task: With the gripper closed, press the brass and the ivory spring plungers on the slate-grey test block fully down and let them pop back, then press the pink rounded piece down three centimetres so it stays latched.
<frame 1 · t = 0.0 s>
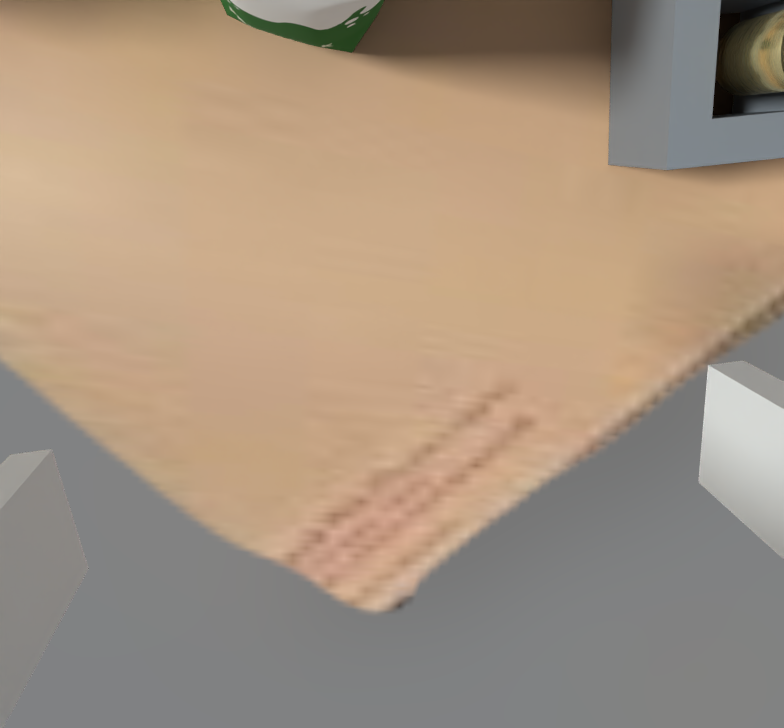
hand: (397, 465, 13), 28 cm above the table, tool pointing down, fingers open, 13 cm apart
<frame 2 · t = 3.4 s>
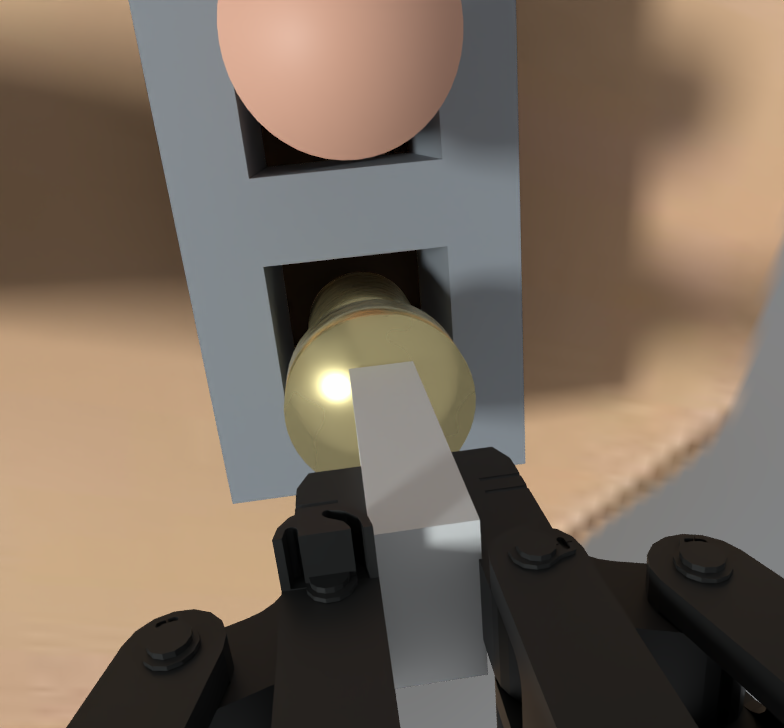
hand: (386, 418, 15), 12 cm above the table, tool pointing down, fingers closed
brass plunger: (369, 357, 19), point 8 cm above the table, slide at 0.5 cm, touching gripper
test block: (329, 81, 24), on the table
pink rounded piece: (336, 54, 15), point 9 cm above the table, slide at 0.0 cm
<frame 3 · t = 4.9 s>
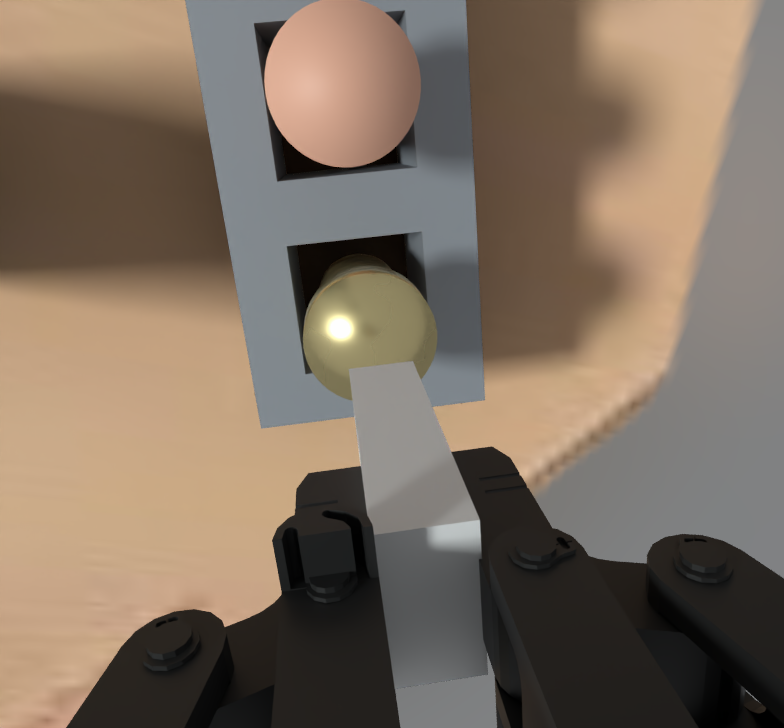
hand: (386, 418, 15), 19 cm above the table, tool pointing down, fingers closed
brass plunger: (364, 313, 25), point 8 cm above the table, slide at 0.4 cm
test block: (335, 108, 31), on the table
pink rounded piece: (340, 94, 22), point 9 cm above the table, slide at 0.0 cm
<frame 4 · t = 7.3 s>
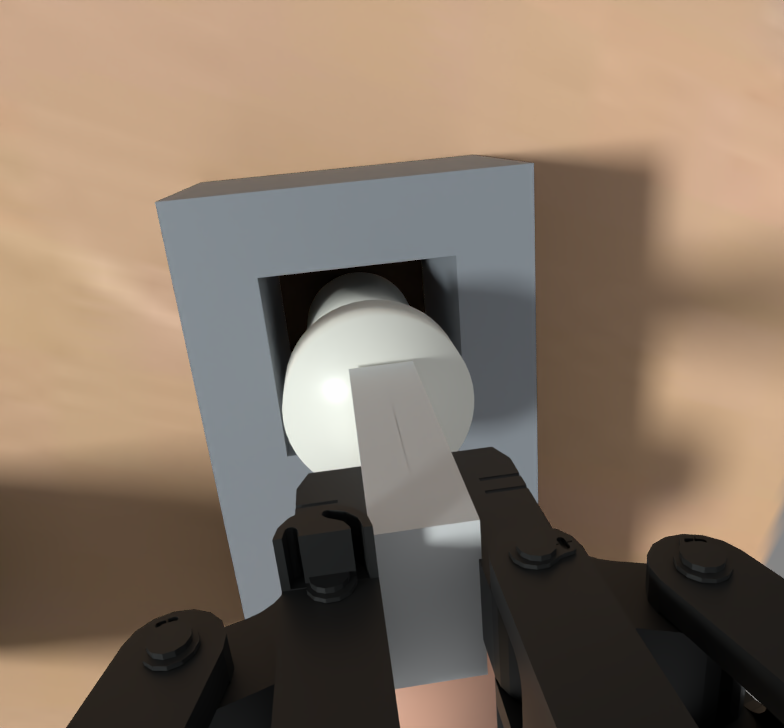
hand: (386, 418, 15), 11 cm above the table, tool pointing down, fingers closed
test block: (374, 478, 28), on the table
pink rounded piece: (400, 624, 20), point 9 cm above the table, slide at 0.0 cm
ivory plunger: (367, 358, 19), point 7 cm above the table, slide at 2.0 cm, touching gripper
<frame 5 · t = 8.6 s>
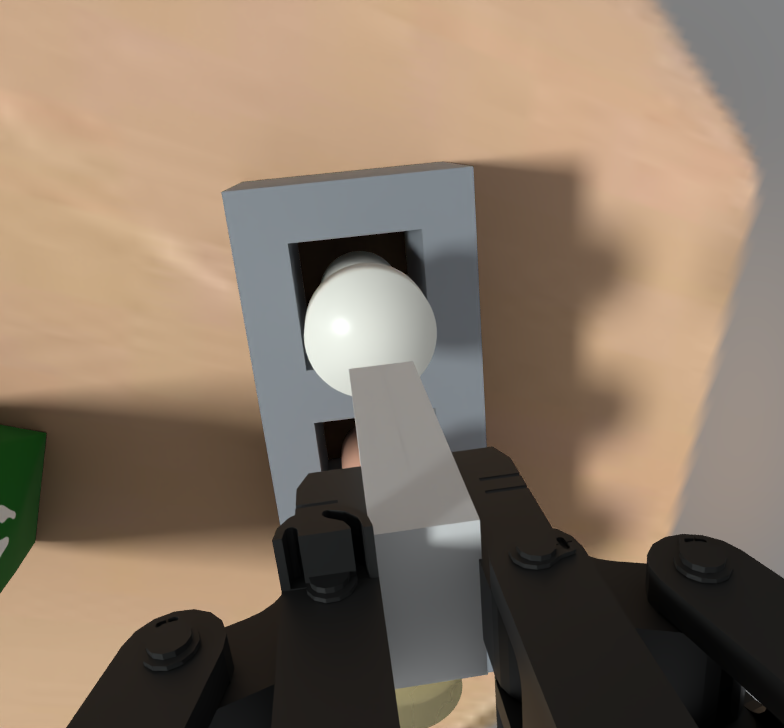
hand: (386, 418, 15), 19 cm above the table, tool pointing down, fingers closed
brass plunger: (399, 630, 31), point 8 cm above the table, slide at 0.4 cm
test block: (370, 410, 36), on the table
pink rounded piece: (384, 489, 28), point 9 cm above the table, slide at 0.0 cm
ivory plunger: (364, 310, 25), point 8 cm above the table, slide at 0.4 cm
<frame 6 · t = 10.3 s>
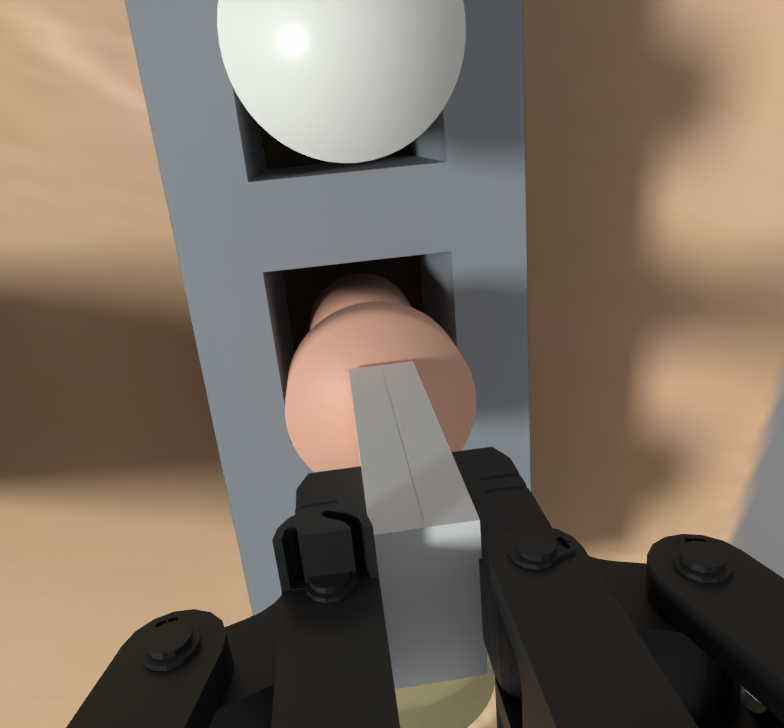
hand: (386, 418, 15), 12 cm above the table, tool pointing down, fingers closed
brass plunger: (396, 596, 21), point 8 cm above the table, slide at 0.4 cm
test block: (355, 296, 26), on the table
pink rounded piece: (370, 359, 19), point 8 cm above the table, slide at 1.1 cm, touching gripper
ivory plunger: (338, 56, 15), point 8 cm above the table, slide at 0.4 cm
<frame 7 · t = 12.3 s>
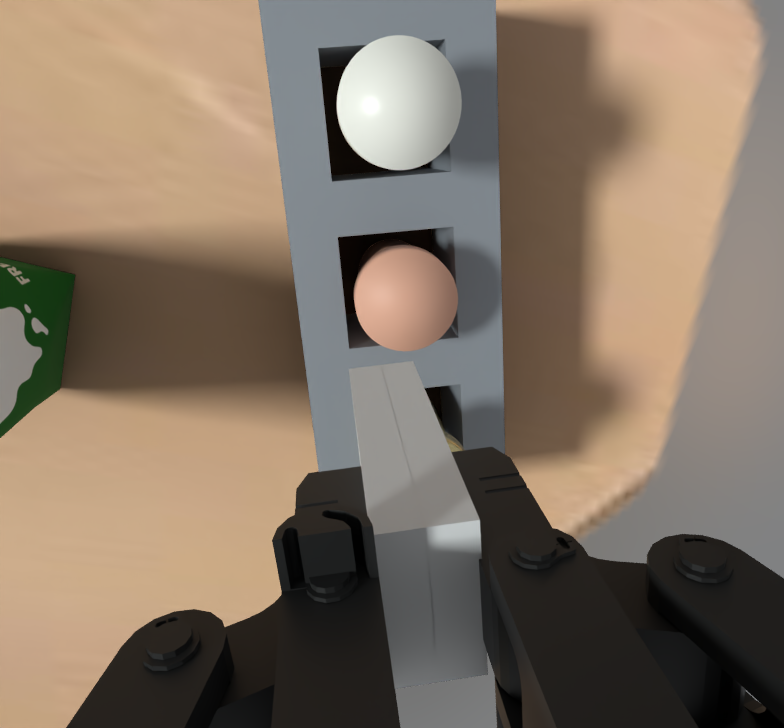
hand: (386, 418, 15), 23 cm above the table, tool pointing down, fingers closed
brass plunger: (414, 451, 32), point 8 cm above the table, slide at 0.4 cm
test block: (387, 264, 37), on the table
pink rounded piece: (398, 285, 32), point 6 cm above the table, slide at 2.8 cm
milk carton: (6, 316, 37), on the table
ivory plunger: (390, 110, 27), point 8 cm above the table, slide at 0.4 cm
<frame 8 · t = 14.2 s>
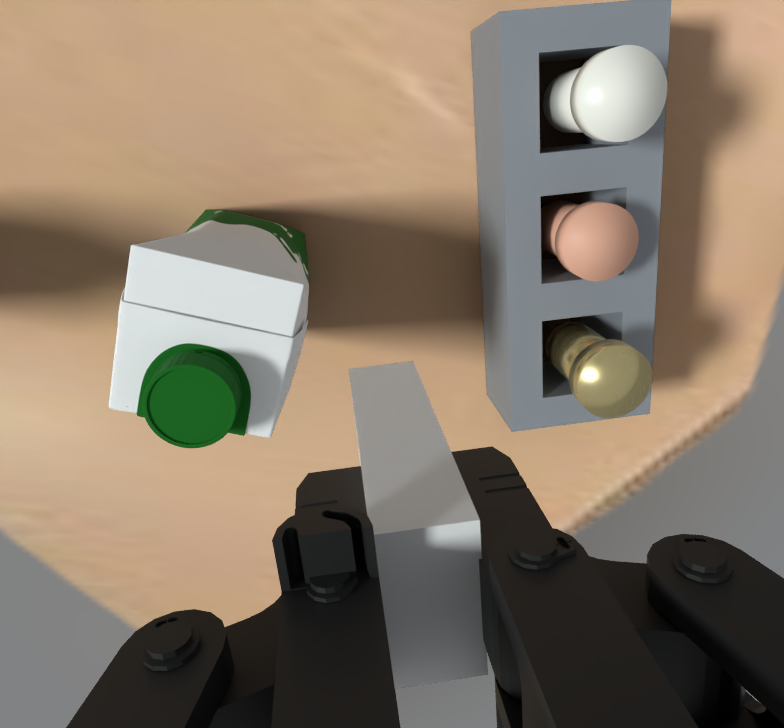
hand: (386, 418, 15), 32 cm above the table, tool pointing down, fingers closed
brass plunger: (590, 362, 42), point 8 cm above the table, slide at 0.4 cm
test block: (546, 222, 47), on the table
pink rounded piece: (577, 234, 41), point 6 cm above the table, slide at 2.8 cm
milk carton: (247, 269, 46), on the table
ivory plunger: (595, 98, 36), point 8 cm above the table, slide at 0.4 cm
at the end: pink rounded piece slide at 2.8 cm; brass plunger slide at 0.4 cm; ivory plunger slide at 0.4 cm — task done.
